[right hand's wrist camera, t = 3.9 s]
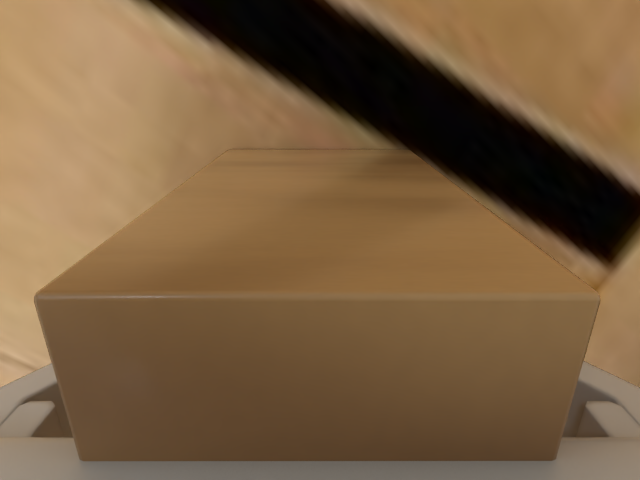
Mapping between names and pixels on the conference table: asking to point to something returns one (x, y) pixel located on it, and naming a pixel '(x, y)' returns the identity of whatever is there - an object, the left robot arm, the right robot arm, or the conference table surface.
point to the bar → (317, 321)
